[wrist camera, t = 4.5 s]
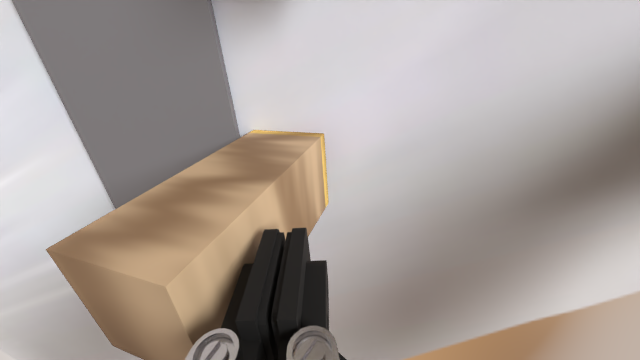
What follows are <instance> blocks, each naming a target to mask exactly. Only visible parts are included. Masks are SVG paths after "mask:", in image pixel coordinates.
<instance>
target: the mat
mask: <svg viewBox="0 0 640 360" xmlns="http://www.w3.org/2000/svg"><path fill="white" fill-rule="evenodd" d="M12 1H13V3H14V5H15V8H16V10H17V12H18V14H19V16H20V18H21V20H22V22H23V24H24V26H25V28H26V30H27V32H28V34H29V36H30V38H31V40H32V42H33V44H34V46H35V48H36V50H37V52H38V54H39V56H40V58H41V60H42V62H43V64H44V66H45V68H46V70H47V72H48V74H49V76H50V78H51V80H52V82H53V84H54V86H55V88H56V90H57V92H58V94H59V96H60V98H61V100H62V102H63V104H64V106H65V108H66V110H67V112H68V114H69V116H70V118H71V120H72V122H73V124H74V126H75V128H76V130H77V132H78V134H79V136H80V138H81V140H82V142H83V144H84V146H85V148H86V150H87V152H88V154H89V156H90V158H91V160H92V162H93V164H94V166H95V168H96V170H97V172H98V174H99V176H100V178H101V180H102V182H103V184H104V186H105V189H106V191H107V193H108V195H109V197H110V199H111V201H112V203H113V205H114V207H115V209H117V208H119V207H120V206H122V205H124V204H126V203H127V202H129V201H131V200H133V199H134V198H136V197H138V196H140V195H141V194H143V193H145V192H147V191H148V190H150V189H152V188H154V187H155V186H157V185H159V184H161V183H162V182H164V181H166V180H167V179H169V178H171V177H173V176H174V175H176V174H178V173H180V172H181V171H183V170H185V169H187V168H188V167H190V166H192V165H194V164H195V163H197V162H199V161H201V160H202V159H204V158H206V157H208V156H209V155H211V154H213V153H215V152H216V151H218V150H220V149H222V148H223V147H225V146H227V145H229V144H230V143H232V142H234V141H235V140H237V139H239V138H240V134H239V130H238V125H237V120H236V116H235V111H234V106H233V102H232V97H231V92H230V88H229V83H228V78H227V73H226V69H225V64H224V59H223V55H222V50H221V45H220V41H219V36H218V31H217V27H216V22H215V17H214V13H213V8H212V3H211V0H12Z"/></svg>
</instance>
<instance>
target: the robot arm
mask: <svg viewBox="0 0 640 360" xmlns="http://www.w3.org/2000/svg"><path fill="white" fill-rule="evenodd" d="M185 360H346V359H345V358H344V357H343V356H342V355H341V354H340V353H339V352H338V348H337V344H336V341H335V338H334V337H333V335H332V334H331V333H330V332H329V298H328V274H327V262H326V261H310V252H309V244H308V235H307V228H293V229H292V232H287V236H286V241H285V235H284V232H280V231H279V229H265V230H264V231H263V234H262V238H261V241H260V244H259V247H258V250H257V253H256V257H255V260H254V263H252V264H244V265H243V267H242V270H241V272H240V275H239V278H238V281H237V284H236V286H235V289H234V292H233V295H232V298H231V300H230V303H229V306H228V309H227V312H226V314H225V317H224V320H223V323H222V326H221V328H219V329H215V330H212V331H210V332H208V333H206V334H204V335H203V336H202V337H201V338H200V339H198V340H197V341H196V343H195V344H194V345H193V347H192V348H191V350H190V351H189V353H188V355H187V357H186V358H185Z"/></svg>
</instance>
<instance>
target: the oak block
mask: <svg viewBox="0 0 640 360" xmlns="http://www.w3.org/2000/svg"><path fill="white" fill-rule="evenodd" d="M327 205H328V188H327V173H326V157H325V142H324V134H322V133H302V132H282V131H262V130H253V131H251V132H249V133H248V134H246V135H244V136H242V137H241V138H239V139H237V140H235V141H234V142H232V143H230V144H229V145H227V146H225V147H223V148H222V149H220V150H218V151H216V152H215V153H213V154H211V155H209V156H208V157H206V158H204V159H202V160H201V161H199V162H197V163H195V164H194V165H192V166H190V167H188V168H187V169H185V170H183V171H181V172H180V173H178V174H176V175H174V176H173V177H171V178H169V179H167V180H166V181H164V182H162V183H161V184H159V185H157V186H155V187H154V188H152V189H150V190H148V191H147V192H145V193H143V194H141V195H140V196H138V197H136V198H134V199H133V200H131V201H129V202H127V203H126V204H124V205H122V206H120V207H119V208H117V209H115V210H113V211H112V212H110V213H108V214H106V215H105V216H103V217H101V218H100V219H98V220H96V221H94V222H93V223H91V224H89V225H87V226H86V227H84V228H82V229H80V230H79V231H77V232H75V233H73V234H72V235H70V236H68V237H66V238H65V239H63V240H61V241H59V242H58V243H56V244H54V245H52V246H51V247H49V248H47V249H46V250H47V252H48V253H49V255H50V256H51V258H52V259H53V261H54V262H55V263H56V265H57V266H58V268H59V269H60V271H61V272H62V273H63V275H64V276H65V278H66V279H67V281H68V282H69V284H70V285H71V286H72V288H73V289H74V291H75V292H76V294H77V295H78V296H79V298H80V299H81V301H82V302H83V304H84V305H85V307H86V308H87V309H88V311H89V312H90V314H91V315H92V317H93V318H94V319H95V321H96V322H97V324H98V325H99V327H100V328H101V330H102V331H103V332H104V334H105V335H106V337H107V338H108V340H109V341H110V342H111V344H112V345H113V346H115V347H117V348H119V349H121V350H123V351H126V352H128V353H130V354H132V355H135V356H137V357H139V358H141V359H144V360H185V358H186V357H187V355H188V353H189V351H190V350H191V348H192V347H193V345H194V344H195V343H196V341H197V340H198V339H200V338H201V337H202V336H203V335H204V334H206V333H208V332H210V331H212V330H215V329H219V328H221V326H222V323H223V320H224V317H225V314H226V312H227V309H228V306H229V303H230V300H231V298H232V295H233V292H234V289H235V286H236V284H237V281H238V278H239V275H240V272H241V270H242V267H243V265H244V264H252V263H254V260H255V257H256V253H257V250H258V247H259V244H260V241H261V238H262V234H263V231H264V230H265V229H279V231H280V232H284V235H285V241H286V236H287V232H292V229H293V228H307V235H308V236H309V234H310V233H311V231H312V229H313V228H314V226H315V224H316V223H317V221H318V219H319V218H320V216H321V214H322V213H323V211H324V210H325V208H326V206H327Z"/></svg>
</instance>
